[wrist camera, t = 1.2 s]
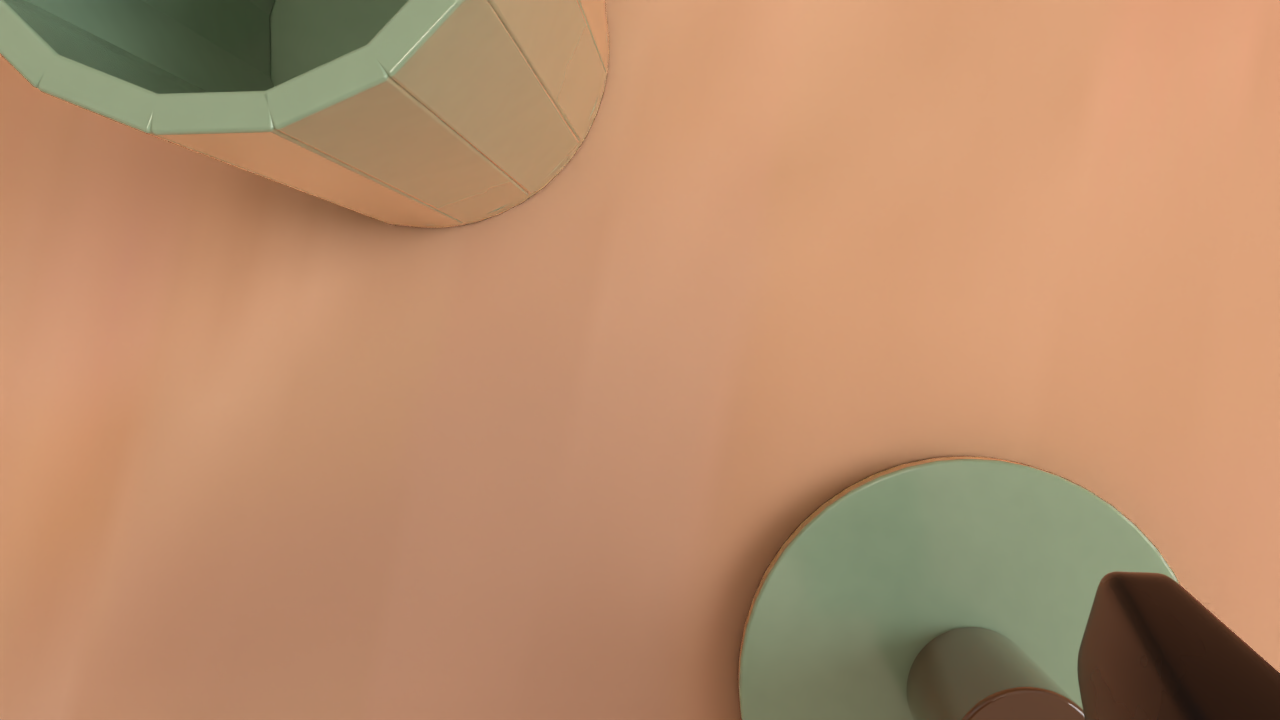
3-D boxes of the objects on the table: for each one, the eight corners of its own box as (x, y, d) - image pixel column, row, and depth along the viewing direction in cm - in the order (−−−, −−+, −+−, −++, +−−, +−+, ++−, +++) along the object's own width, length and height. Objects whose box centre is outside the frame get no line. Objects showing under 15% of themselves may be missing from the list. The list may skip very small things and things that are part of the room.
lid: (1090, 974, 22) (1188, 1136, 17) (671, 798, 22) (661, 912, 18) (1266, 558, 21) (1411, 613, 17) (837, 388, 22) (870, 399, 17)
